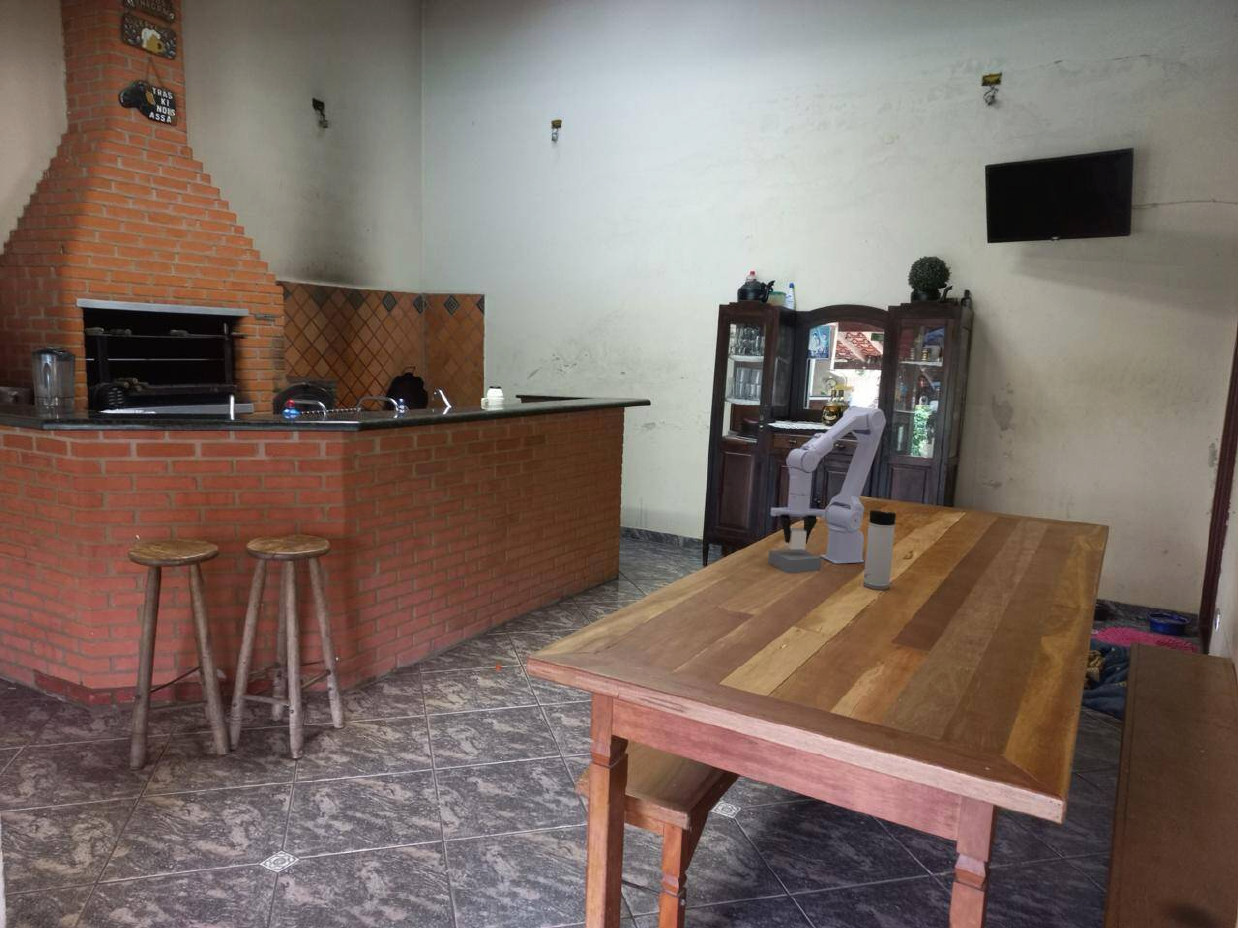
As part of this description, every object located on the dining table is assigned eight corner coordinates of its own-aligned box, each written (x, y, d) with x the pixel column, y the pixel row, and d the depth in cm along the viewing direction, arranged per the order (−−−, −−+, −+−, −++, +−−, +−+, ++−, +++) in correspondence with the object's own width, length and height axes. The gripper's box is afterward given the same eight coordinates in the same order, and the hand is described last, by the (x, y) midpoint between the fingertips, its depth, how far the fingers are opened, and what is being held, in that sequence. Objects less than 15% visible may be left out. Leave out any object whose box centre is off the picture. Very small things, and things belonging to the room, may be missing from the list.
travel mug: (860, 587, 196) (867, 510, 193) (865, 581, 202) (872, 506, 199) (886, 592, 193) (894, 513, 190) (890, 585, 199) (898, 509, 196)
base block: (798, 561, 219) (799, 548, 218) (820, 571, 210) (821, 557, 209) (768, 564, 215) (769, 550, 215) (789, 574, 206) (790, 560, 206)
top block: (805, 549, 210) (806, 531, 209) (791, 549, 210) (792, 531, 209) (799, 545, 214) (801, 527, 213) (785, 545, 213) (787, 527, 213)
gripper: (822, 491, 214) (818, 539, 216) (769, 489, 213) (766, 537, 215) (829, 496, 207) (825, 546, 209) (775, 494, 206) (771, 544, 208)
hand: (795, 542), depth 212 cm, fingers closed on top block, 4 cm apart
